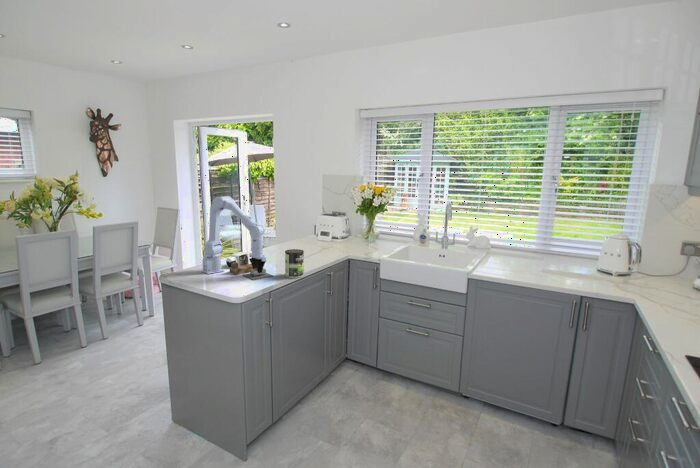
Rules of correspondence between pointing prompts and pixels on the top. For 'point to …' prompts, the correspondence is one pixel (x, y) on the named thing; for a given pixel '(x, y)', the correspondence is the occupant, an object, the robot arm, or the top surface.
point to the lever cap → (257, 271)
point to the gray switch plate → (257, 276)
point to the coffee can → (294, 263)
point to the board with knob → (240, 268)
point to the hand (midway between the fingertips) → (257, 271)
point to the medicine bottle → (238, 259)
